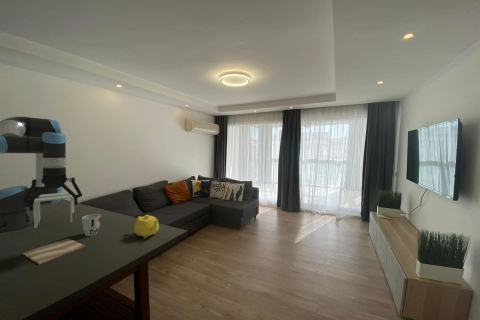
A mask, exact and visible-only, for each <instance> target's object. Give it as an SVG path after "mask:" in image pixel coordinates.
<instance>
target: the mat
mask: <svg viewBox="0 0 480 320" xmlns="http://www.w3.org/2000/svg"><path fill="white" fill-rule="evenodd" d="M83 248H86V245H85V244H83V243H80V242H78V241H76V240H73V239H71V238H69V237H68V238H65V239H62V240H59V241H56V242H53V243H50V244H47V245H46V244H45V245H43V246H40V247H37V248H34V249H31V250H28V251H25V252H22V255H23V256H24V255H25V256H24V257H26V258H27V259H30V260H31V261H33V262H34V263H36V264H37V265H41V264H44V263H47V262H49V261H53V260H54V259H57V258H60V257H62V256H65V255H68V254H71V253H73V252H76V251H78V250H82V249H83Z"/></svg>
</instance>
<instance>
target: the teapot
mask: <svg viewBox="0 0 480 320" xmlns="http://www.w3.org/2000/svg"><path fill="white" fill-rule="evenodd" d="M158 221H159V219H157V217H155V216H153V215H149V214H146V215H144V216H140V215H139V216H137V218H136V222H135V223H134V229H133V231H134V233H135V234H136V235H137V236H138V237H139V236H140V237H142V238H143V239H147V238H148V237H150V236H152V235H153V236H154V235H156V234H157V233H158V232H159V229H160V226H159V222H158Z"/></svg>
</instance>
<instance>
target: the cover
mask: <svg viewBox="0 0 480 320" xmlns="http://www.w3.org/2000/svg"><path fill="white" fill-rule="evenodd" d="M72 198H73V197H72V195H70V194H69V193H68V192H67V191H66V192H62V193H56V194H45V195H40V196H39V197H38V198H36V199H35V200H34V224H33V225H34V226H33V227H34V229H36V228H38V225H39V224H40V221H41V206H40V202H41V201H51V200H60V201H61V200H66V199H69V200H70V209H69V210H70V211H69V212H70V223H72V222H73V213H72Z"/></svg>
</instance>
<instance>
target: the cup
mask: <svg viewBox="0 0 480 320" xmlns="http://www.w3.org/2000/svg"><path fill="white" fill-rule="evenodd" d="M81 222H82V229H83V233H84V235H85V237H92V236H95V235H97V234H98V232H99V229H100V225H101V214H100V213H91V214H86V215H84V216H82V217H81Z"/></svg>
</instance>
